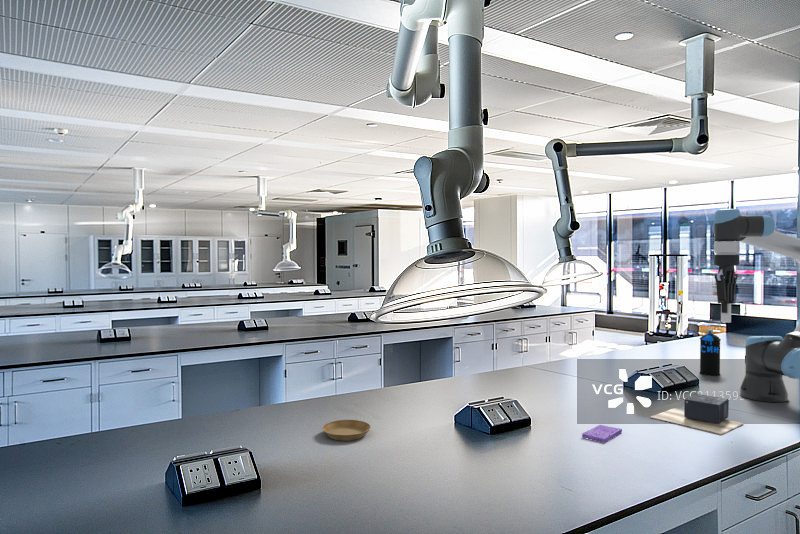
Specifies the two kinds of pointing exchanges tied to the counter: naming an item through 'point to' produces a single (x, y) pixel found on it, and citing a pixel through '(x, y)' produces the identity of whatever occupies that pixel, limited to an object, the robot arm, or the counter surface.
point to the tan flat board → (696, 422)
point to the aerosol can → (710, 354)
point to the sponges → (601, 433)
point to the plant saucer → (346, 429)
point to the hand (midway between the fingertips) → (725, 322)
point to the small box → (706, 408)
